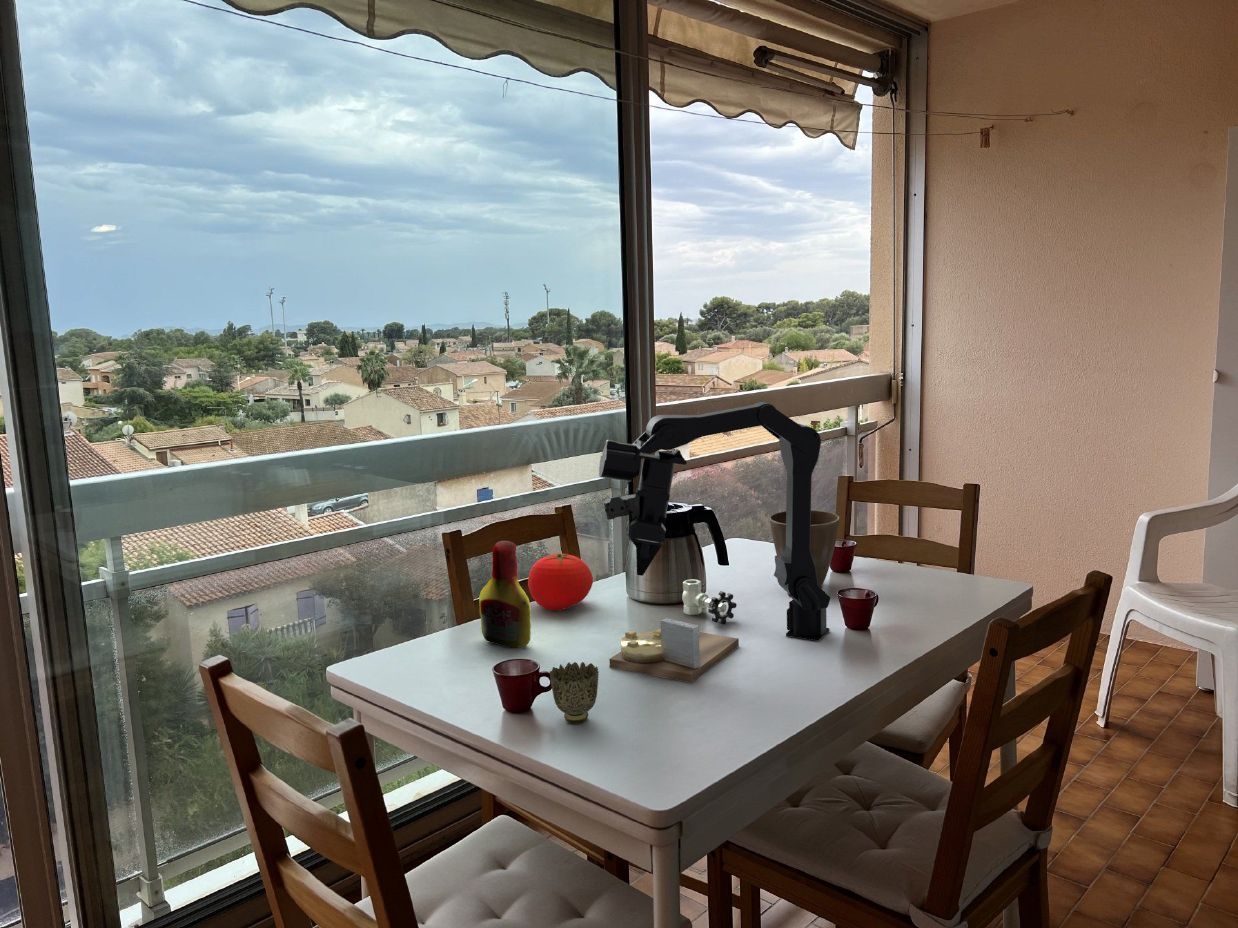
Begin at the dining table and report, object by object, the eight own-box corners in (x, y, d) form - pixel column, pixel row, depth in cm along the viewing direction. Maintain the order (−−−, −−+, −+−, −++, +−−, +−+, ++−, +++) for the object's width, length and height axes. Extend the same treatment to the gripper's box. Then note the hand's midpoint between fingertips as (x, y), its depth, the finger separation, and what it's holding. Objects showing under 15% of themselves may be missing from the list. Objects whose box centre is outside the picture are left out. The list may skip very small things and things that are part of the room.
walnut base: (738, 646, 166) (738, 638, 166) (691, 682, 150) (690, 674, 150) (662, 633, 175) (662, 625, 174) (609, 666, 159) (609, 658, 159)
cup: (551, 711, 141) (549, 662, 140) (599, 708, 142) (596, 659, 141) (552, 732, 134) (549, 681, 133) (602, 729, 135) (600, 677, 133)
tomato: (545, 595, 202) (542, 544, 200) (601, 600, 197) (599, 548, 196) (518, 613, 191) (515, 559, 189) (577, 618, 186) (575, 563, 184)
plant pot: (846, 596, 193) (846, 523, 190) (776, 599, 193) (775, 525, 191) (831, 577, 208) (831, 508, 205) (766, 579, 208) (764, 511, 205)
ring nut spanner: (610, 655, 159) (609, 616, 158) (643, 640, 166) (642, 603, 165) (680, 675, 149) (679, 634, 148) (712, 658, 156) (711, 619, 155)
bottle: (541, 645, 171) (535, 541, 168) (516, 655, 166) (509, 549, 163) (499, 632, 179) (493, 533, 176) (474, 641, 174) (467, 540, 171)
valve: (673, 613, 187) (711, 628, 177) (673, 582, 186) (710, 595, 176) (698, 606, 190) (737, 621, 181) (698, 576, 189) (736, 588, 180)
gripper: (614, 471, 172) (600, 550, 174) (607, 484, 154) (592, 573, 156) (671, 481, 172) (658, 560, 174) (672, 495, 153) (656, 584, 155)
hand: (640, 569), depth 165 cm, fingers open, 9 cm apart
